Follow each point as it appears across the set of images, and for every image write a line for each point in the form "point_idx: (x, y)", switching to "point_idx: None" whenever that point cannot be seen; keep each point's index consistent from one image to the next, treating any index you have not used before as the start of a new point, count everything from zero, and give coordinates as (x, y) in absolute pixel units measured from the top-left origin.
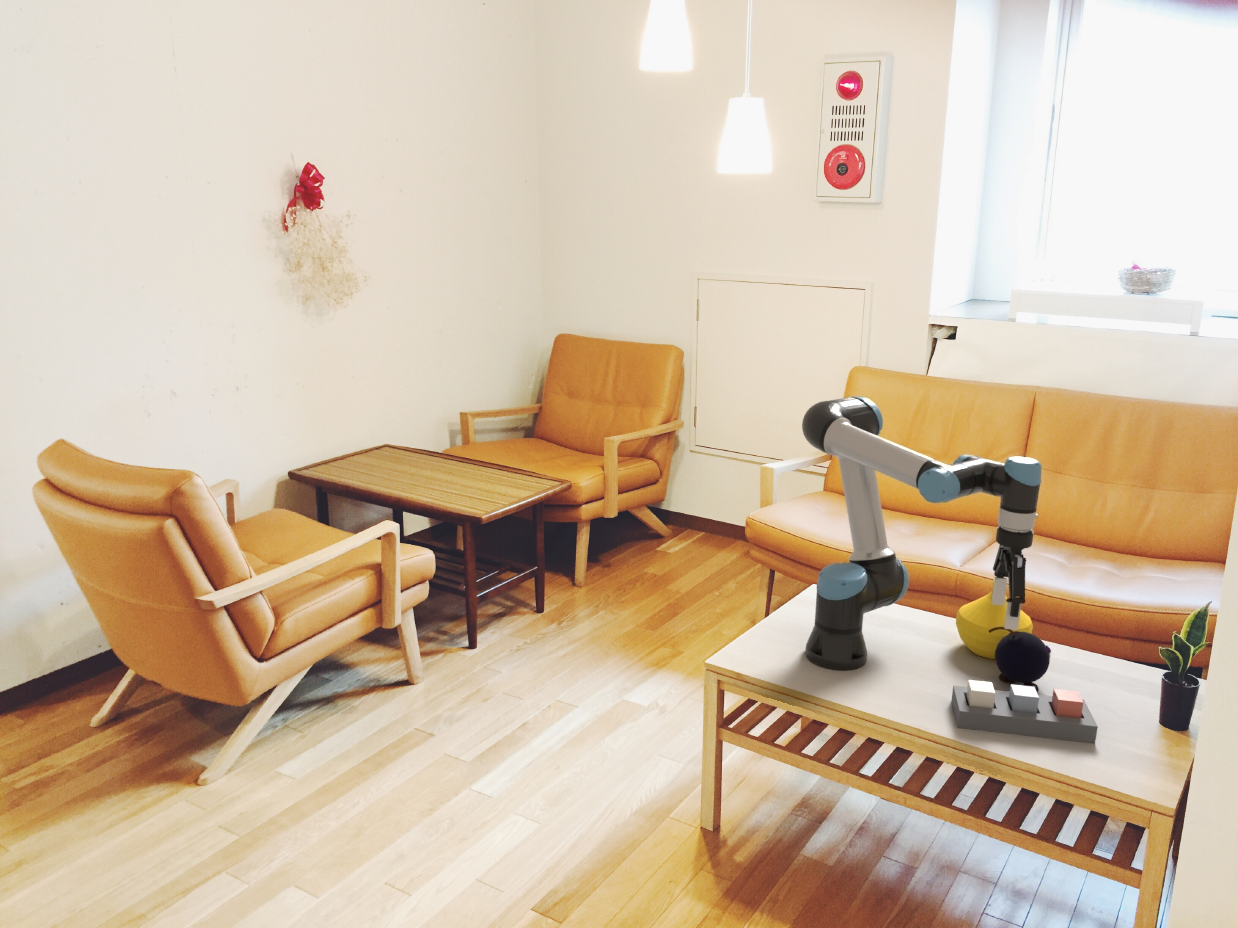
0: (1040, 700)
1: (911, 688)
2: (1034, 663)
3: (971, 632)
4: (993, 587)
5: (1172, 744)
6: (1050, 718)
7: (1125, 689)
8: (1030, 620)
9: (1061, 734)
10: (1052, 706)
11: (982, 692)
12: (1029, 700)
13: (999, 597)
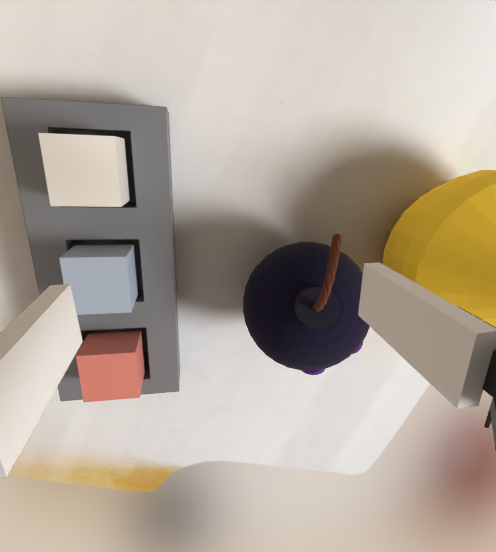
0: (146, 312)
1: (213, 4)
2: (249, 329)
3: (434, 200)
4: (435, 296)
5: (118, 476)
6: None
7: (295, 439)
8: None
9: None
10: (130, 332)
11: (44, 168)
12: None
13: (381, 308)
